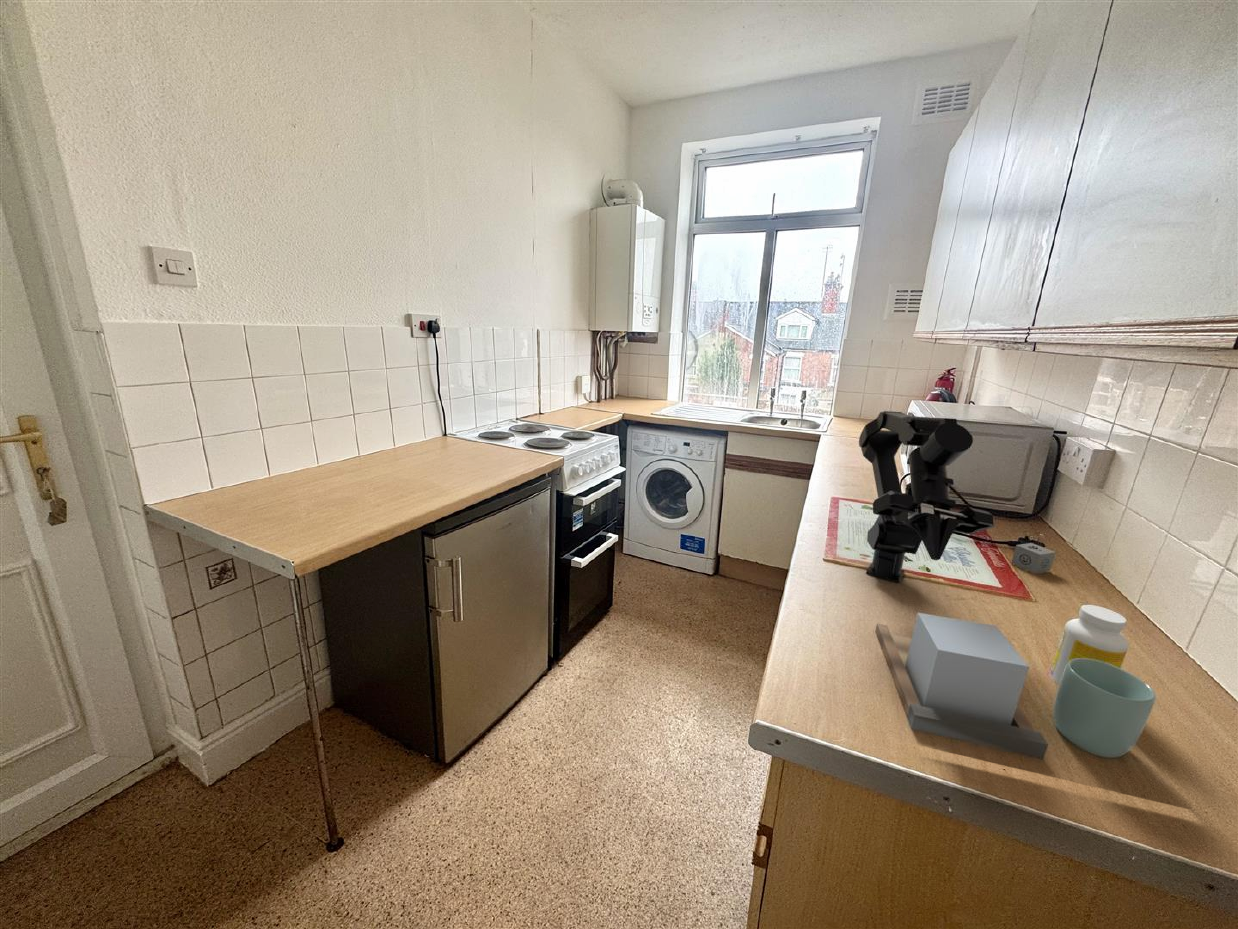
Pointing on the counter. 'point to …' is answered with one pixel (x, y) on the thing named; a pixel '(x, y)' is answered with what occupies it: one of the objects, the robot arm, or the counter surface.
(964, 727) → the chute
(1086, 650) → the supplement bottle
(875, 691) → the counter surface
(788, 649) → the counter surface
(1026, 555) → the dice cube
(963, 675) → the block
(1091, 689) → the cup
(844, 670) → the counter surface
